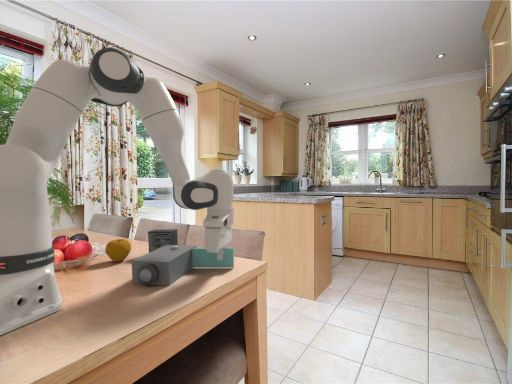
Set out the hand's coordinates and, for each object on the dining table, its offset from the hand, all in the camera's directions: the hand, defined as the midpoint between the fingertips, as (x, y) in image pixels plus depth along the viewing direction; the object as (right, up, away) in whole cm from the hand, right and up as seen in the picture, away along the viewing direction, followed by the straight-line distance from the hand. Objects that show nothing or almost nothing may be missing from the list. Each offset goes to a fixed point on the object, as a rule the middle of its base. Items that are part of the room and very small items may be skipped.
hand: (220, 259), depth 90 cm
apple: (-42, -5, +14) cm, 44 cm away
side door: (-3, -3, +3) cm, 5 cm away
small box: (-27, -4, +23) cm, 35 cm away
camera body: (-17, -4, -3) cm, 18 cm away
